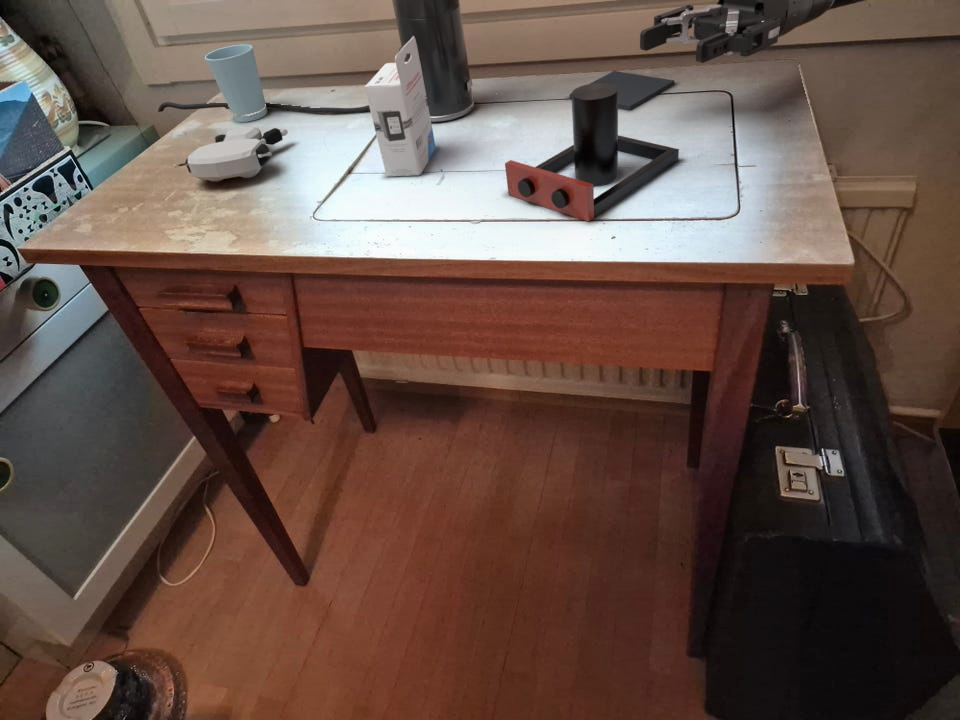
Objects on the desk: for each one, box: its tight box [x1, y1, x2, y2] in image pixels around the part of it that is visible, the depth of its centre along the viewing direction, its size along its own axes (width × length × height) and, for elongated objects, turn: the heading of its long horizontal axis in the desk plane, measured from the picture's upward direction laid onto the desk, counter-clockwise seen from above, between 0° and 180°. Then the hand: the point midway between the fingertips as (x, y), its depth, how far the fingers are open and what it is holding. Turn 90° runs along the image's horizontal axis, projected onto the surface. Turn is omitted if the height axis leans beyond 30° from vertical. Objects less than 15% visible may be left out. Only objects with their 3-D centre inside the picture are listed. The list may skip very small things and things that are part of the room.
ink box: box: [364, 36, 437, 177], centre depth 84 cm, size 9×5×15 cm, turn 168°
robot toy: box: [173, 125, 289, 182], centre depth 94 cm, size 12×4×15 cm
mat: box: [568, 70, 676, 111], centre depth 98 cm, size 11×11×1 cm
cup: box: [204, 43, 268, 123], centre depth 109 cm, size 8×8×10 cm
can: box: [571, 83, 619, 187], centre depth 75 cm, size 5×5×10 cm
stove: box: [504, 134, 680, 223], centre depth 77 cm, size 12×18×4 cm
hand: (669, 47), depth 75 cm, fingers open, 8 cm apart
